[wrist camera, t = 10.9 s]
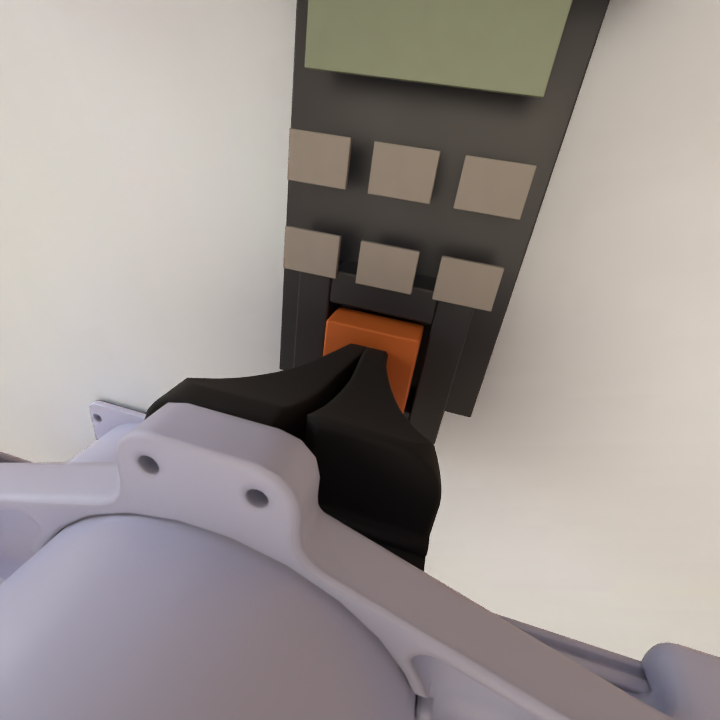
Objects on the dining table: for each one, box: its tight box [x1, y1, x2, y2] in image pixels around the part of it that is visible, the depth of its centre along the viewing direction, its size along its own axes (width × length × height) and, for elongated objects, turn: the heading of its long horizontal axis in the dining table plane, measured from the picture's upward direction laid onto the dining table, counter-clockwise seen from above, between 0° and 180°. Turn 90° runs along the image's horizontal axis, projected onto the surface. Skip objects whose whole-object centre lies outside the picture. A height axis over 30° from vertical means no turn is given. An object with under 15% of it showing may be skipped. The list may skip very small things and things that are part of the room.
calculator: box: [280, 0, 610, 444], centre depth 13 cm, size 16×9×2 cm, turn 172°
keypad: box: [284, 0, 572, 311], centre depth 11 cm, size 8×7×1 cm
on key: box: [323, 307, 424, 413], centre depth 14 cm, size 3×3×2 cm
